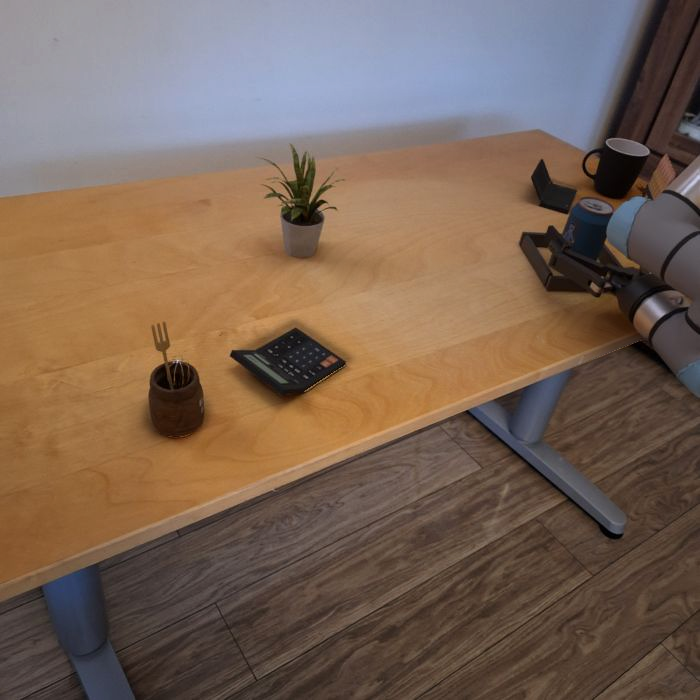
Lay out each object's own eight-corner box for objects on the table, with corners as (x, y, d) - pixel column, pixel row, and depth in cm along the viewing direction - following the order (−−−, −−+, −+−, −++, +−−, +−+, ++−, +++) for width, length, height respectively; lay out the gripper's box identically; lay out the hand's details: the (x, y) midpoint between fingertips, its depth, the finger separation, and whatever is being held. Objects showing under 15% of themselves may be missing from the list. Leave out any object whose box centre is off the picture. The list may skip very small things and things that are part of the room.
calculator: (345, 366, 81) (347, 349, 79) (280, 409, 74) (281, 391, 72) (295, 332, 86) (296, 314, 84) (229, 369, 79) (229, 351, 77)
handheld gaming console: (581, 208, 122) (563, 162, 119) (545, 223, 125) (527, 178, 122) (578, 192, 132) (561, 149, 128) (544, 206, 135) (527, 164, 131)
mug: (629, 188, 137) (649, 144, 130) (630, 205, 130) (651, 159, 123) (575, 175, 139) (591, 131, 132) (573, 191, 132) (590, 145, 125)
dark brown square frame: (593, 246, 114) (598, 234, 113) (628, 292, 103) (634, 280, 102) (518, 243, 112) (522, 231, 110) (546, 290, 101) (551, 277, 99)
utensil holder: (164, 447, 68) (154, 366, 60) (142, 411, 72) (130, 331, 64) (214, 427, 71) (210, 348, 63) (190, 393, 74) (184, 314, 67)
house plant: (239, 231, 104) (239, 136, 94) (314, 219, 110) (321, 129, 100) (271, 276, 95) (274, 177, 85) (350, 261, 101) (362, 167, 90)
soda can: (596, 266, 109) (623, 204, 101) (584, 283, 104) (612, 219, 96) (558, 252, 111) (582, 190, 103) (545, 267, 106) (569, 204, 99)
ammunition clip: (653, 231, 122) (680, 174, 114) (643, 229, 122) (670, 172, 114) (645, 207, 130) (671, 152, 122) (636, 205, 130) (661, 151, 122)
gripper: (743, 285, 88) (658, 212, 104) (588, 289, 82) (523, 212, 98) (717, 326, 93) (640, 250, 108) (569, 333, 87) (510, 252, 103)
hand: (584, 232), depth 103 cm, fingers open, 13 cm apart
